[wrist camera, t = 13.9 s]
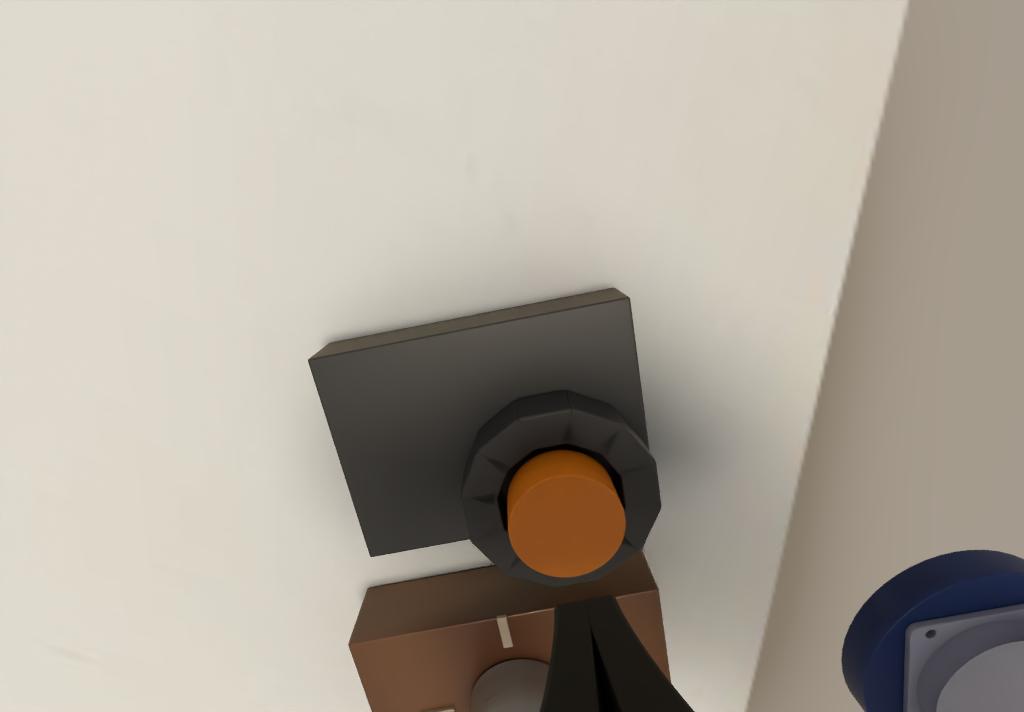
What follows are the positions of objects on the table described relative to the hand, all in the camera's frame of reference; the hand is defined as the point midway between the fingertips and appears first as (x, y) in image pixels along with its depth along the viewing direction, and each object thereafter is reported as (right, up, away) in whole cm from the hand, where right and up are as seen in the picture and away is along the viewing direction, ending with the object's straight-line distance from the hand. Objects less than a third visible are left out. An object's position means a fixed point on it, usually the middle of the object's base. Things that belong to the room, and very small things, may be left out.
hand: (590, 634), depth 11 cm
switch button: (0, +2, +5) cm, 6 cm away
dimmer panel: (-1, -6, +12) cm, 13 cm away
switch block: (-3, +4, +9) cm, 10 cm away
